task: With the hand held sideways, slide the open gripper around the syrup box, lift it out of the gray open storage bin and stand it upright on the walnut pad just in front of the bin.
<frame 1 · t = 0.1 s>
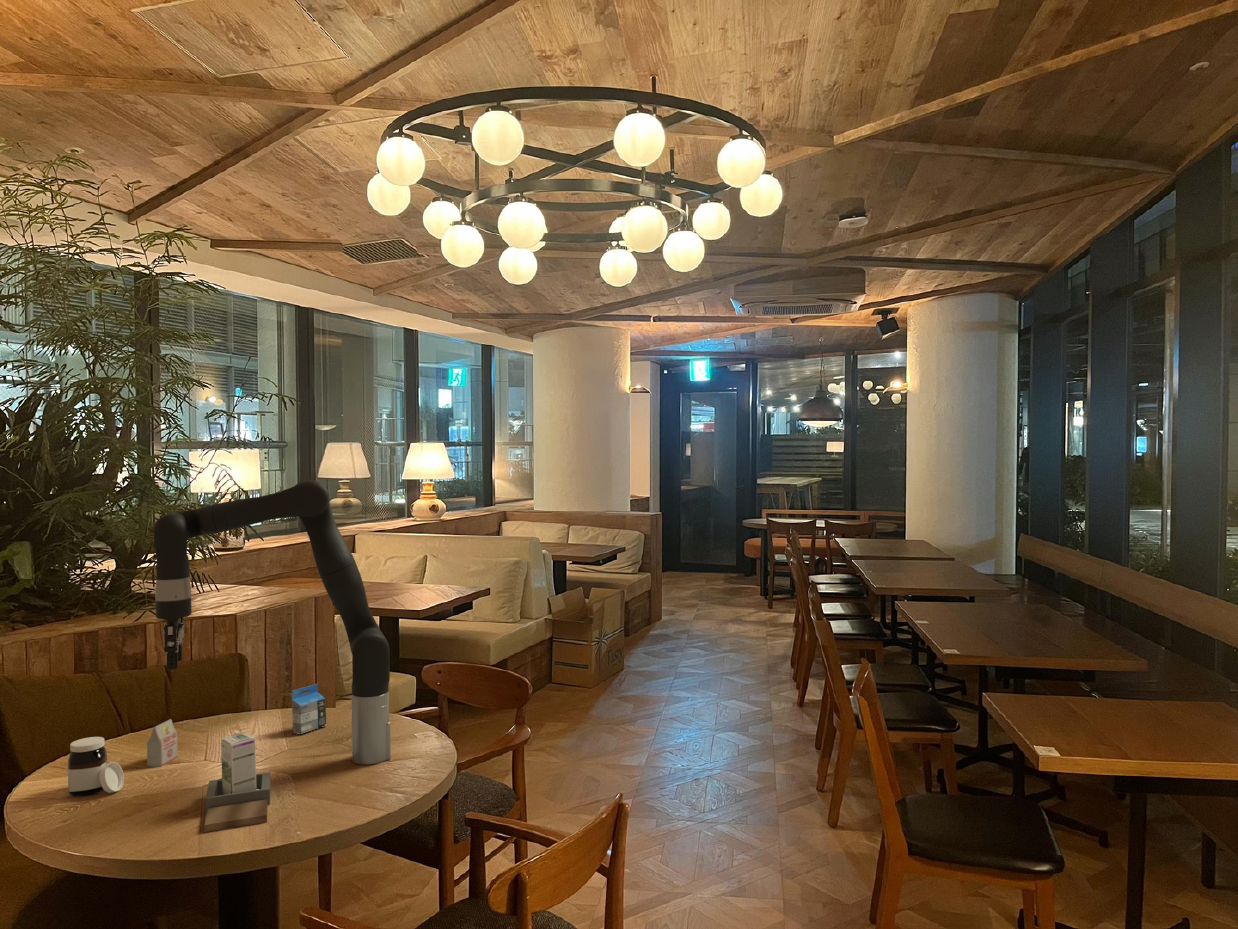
hand: (174, 665, 195), 29 cm above the table, tool pointing down, fingers open, 8 cm apart
walnut pad: (237, 818, 177), on the table
label tape box: (309, 731, 235), on the table
syrup box: (239, 801, 187), resting in gray open storage bin
white gable top carton: (162, 762, 211), on the table
gray open storage bin: (239, 800, 187), on the table
spread jar: (96, 791, 193), on the table
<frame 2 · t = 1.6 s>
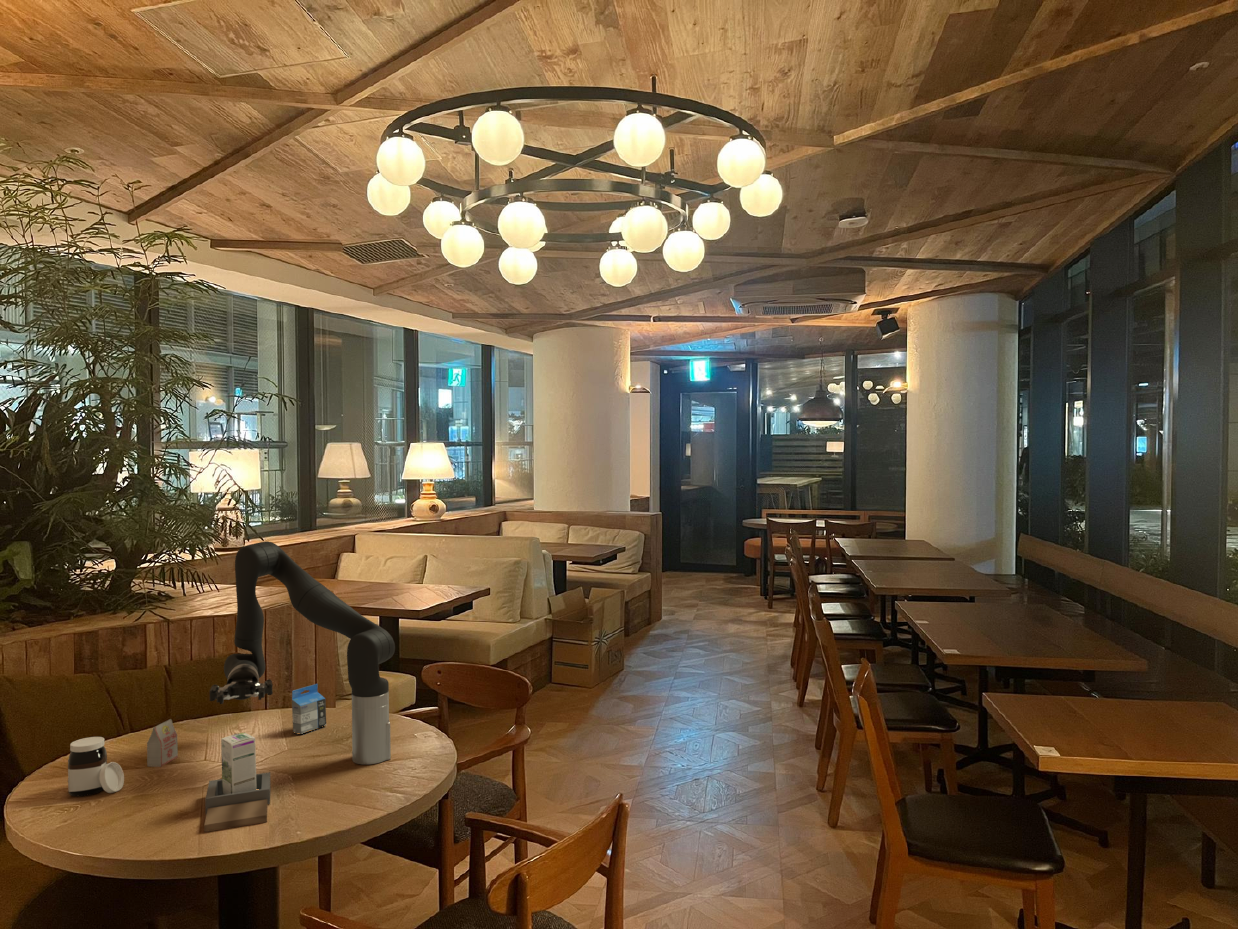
hand: (240, 697, 199), 20 cm above the table, tool horizontal, fingers open, 8 cm apart
nothing on the table moved.
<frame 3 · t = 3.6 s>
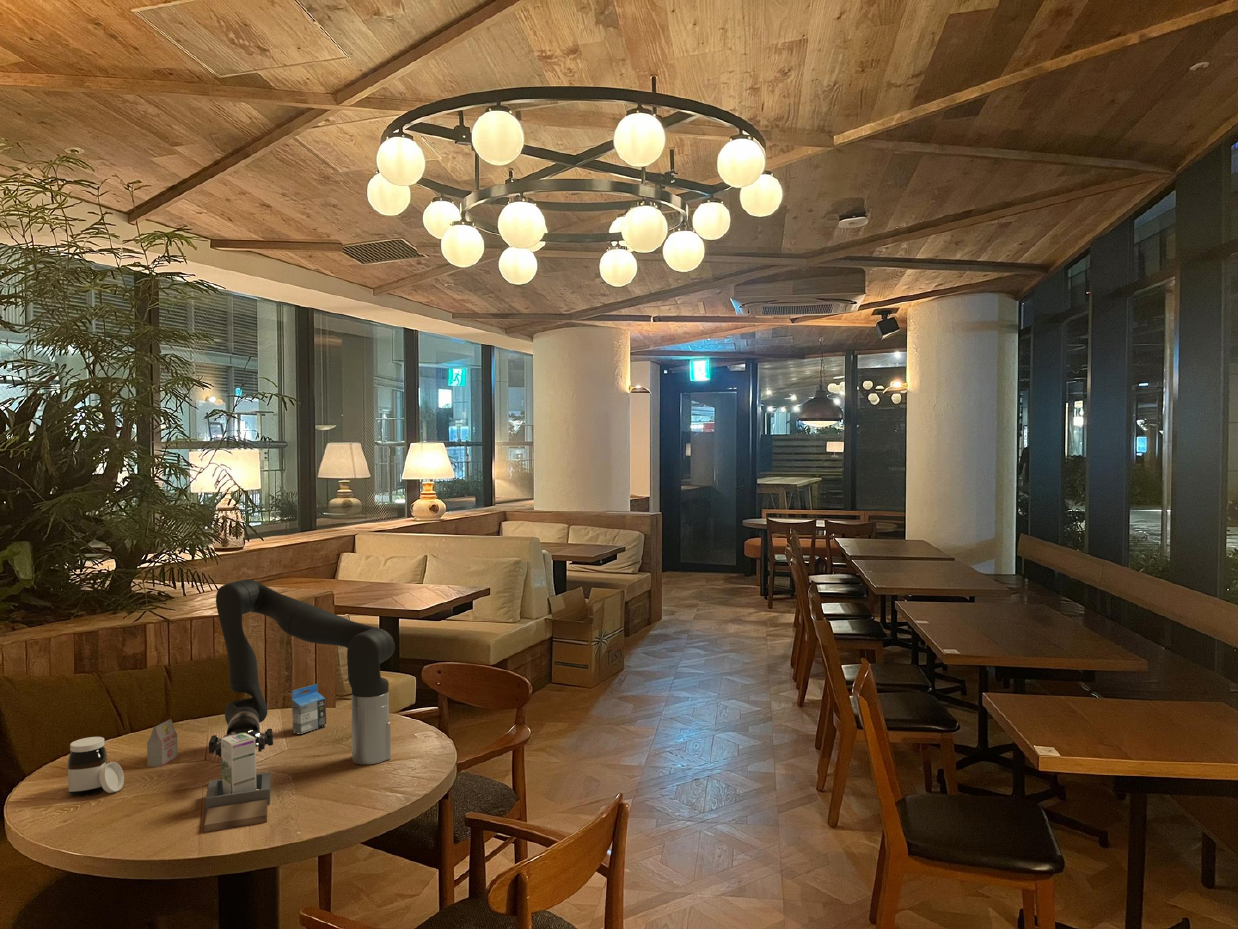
hand: (240, 750, 193), 9 cm above the table, tool horizontal, fingers open, 8 cm apart
nothing on the table moved.
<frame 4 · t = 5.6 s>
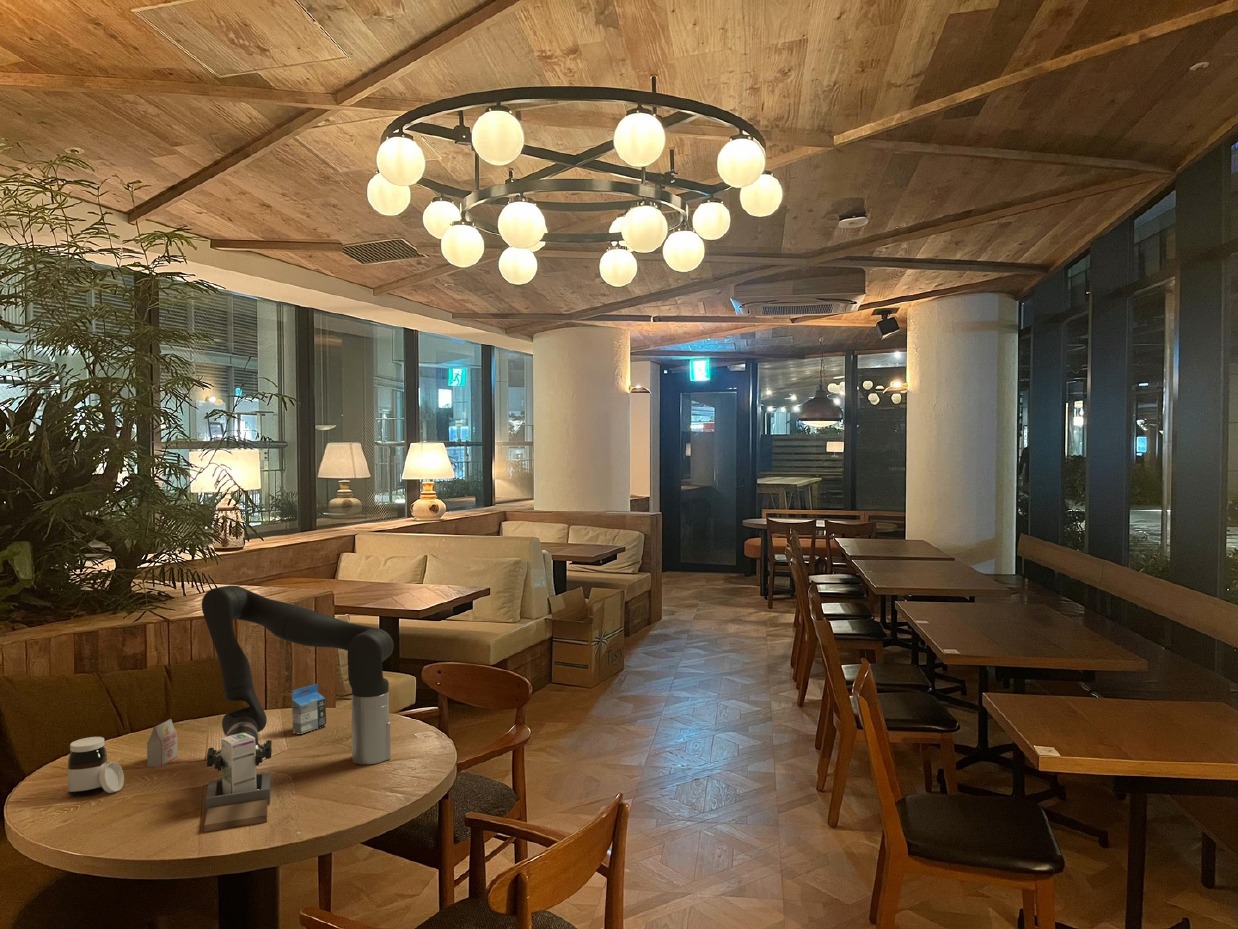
hand: (238, 764, 185), 9 cm above the table, tool horizontal, fingers closed on syrup box, 7 cm apart
syrup box: (239, 801, 187), resting in gray open storage bin, touching gripper
everything else where it was.
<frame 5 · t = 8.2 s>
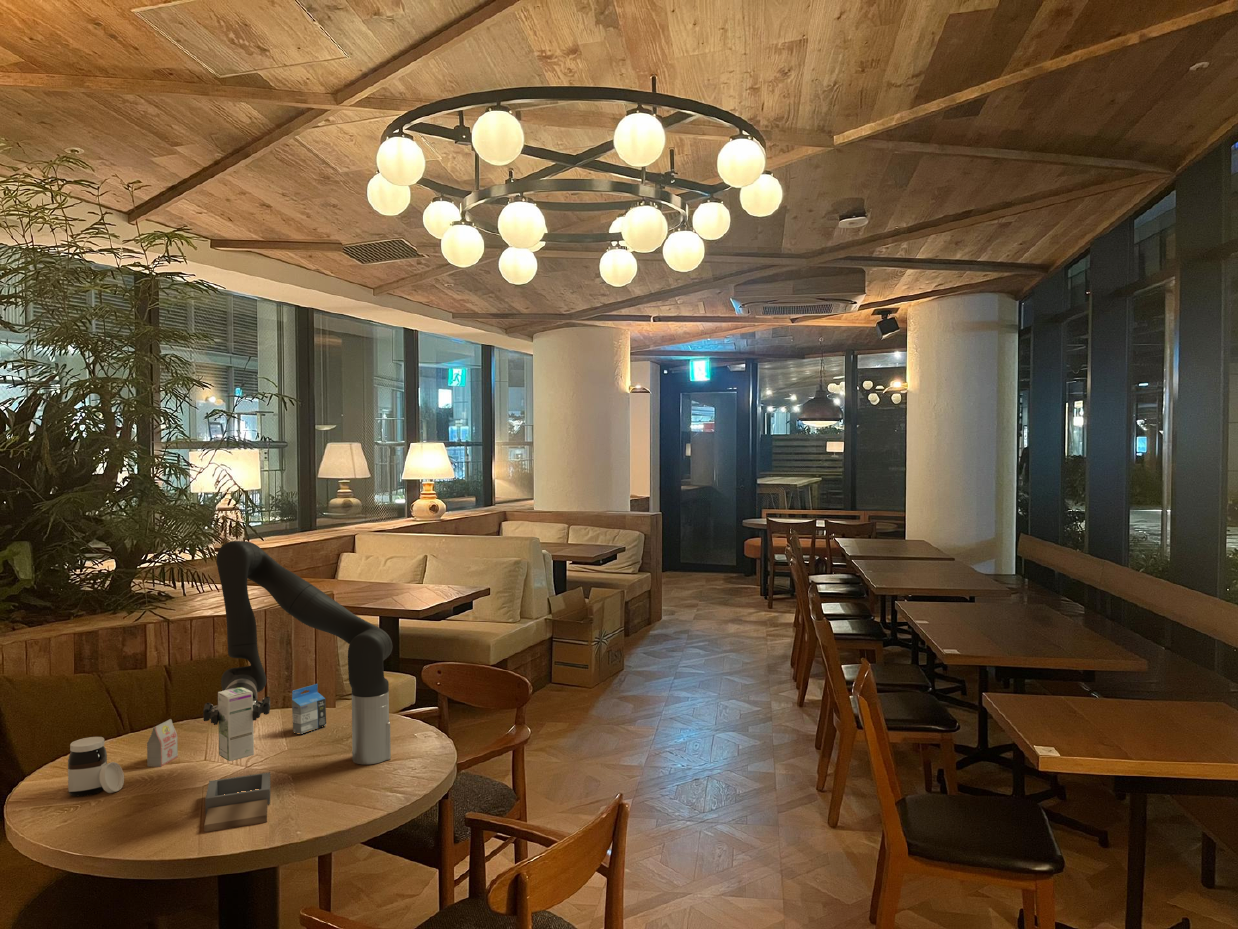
hand: (235, 718, 180), 21 cm above the table, tool horizontal, fingers closed on syrup box, 7 cm apart
syrup box: (236, 756, 182), point 12 cm above the table, touching gripper
everything else where it was.
when the fingers open (12 cm above the table, at t = 11.0 s): syrup box drops 1 cm, resting on walnut pad.
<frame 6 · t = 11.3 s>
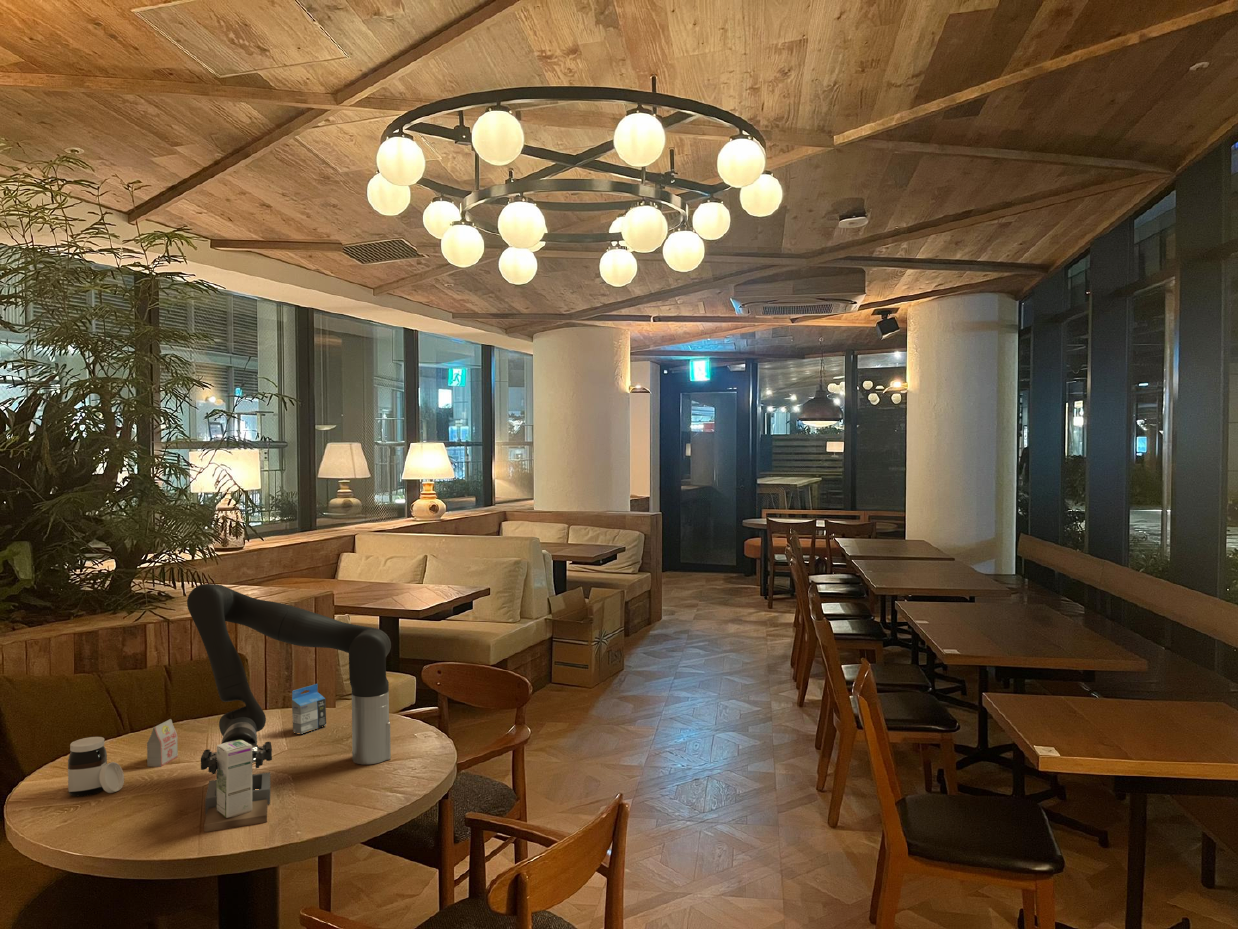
hand: (235, 766, 175), 12 cm above the table, tool horizontal, fingers open, 8 cm apart
syrup box: (233, 812, 177), point 1 cm above the table, touching gripper, walnut pad
everything else where it was.
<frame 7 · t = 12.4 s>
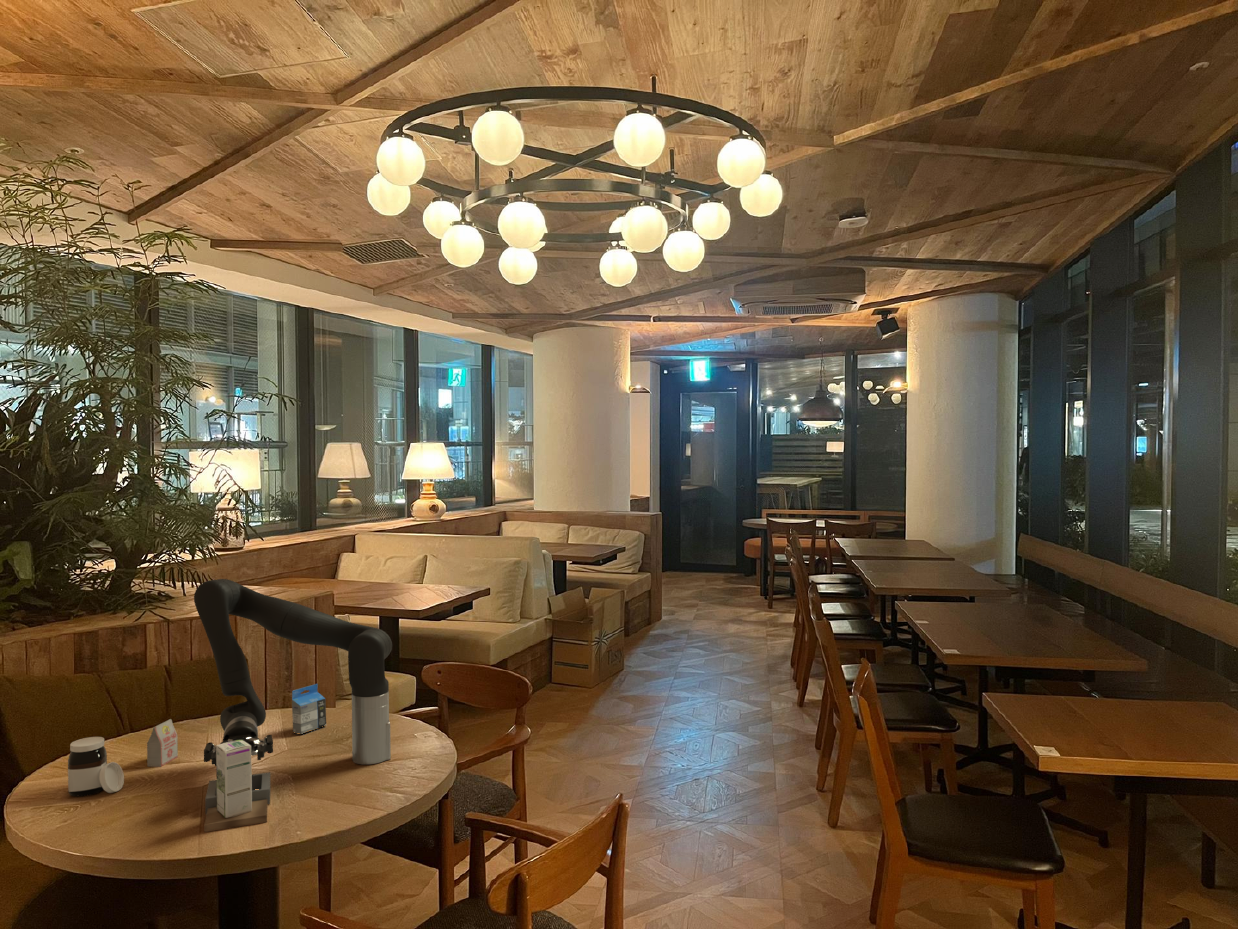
hand: (238, 758, 180), 12 cm above the table, tool horizontal, fingers open, 8 cm apart
syrup box: (233, 812, 177), point 1 cm above the table, touching walnut pad
everything else where it was.
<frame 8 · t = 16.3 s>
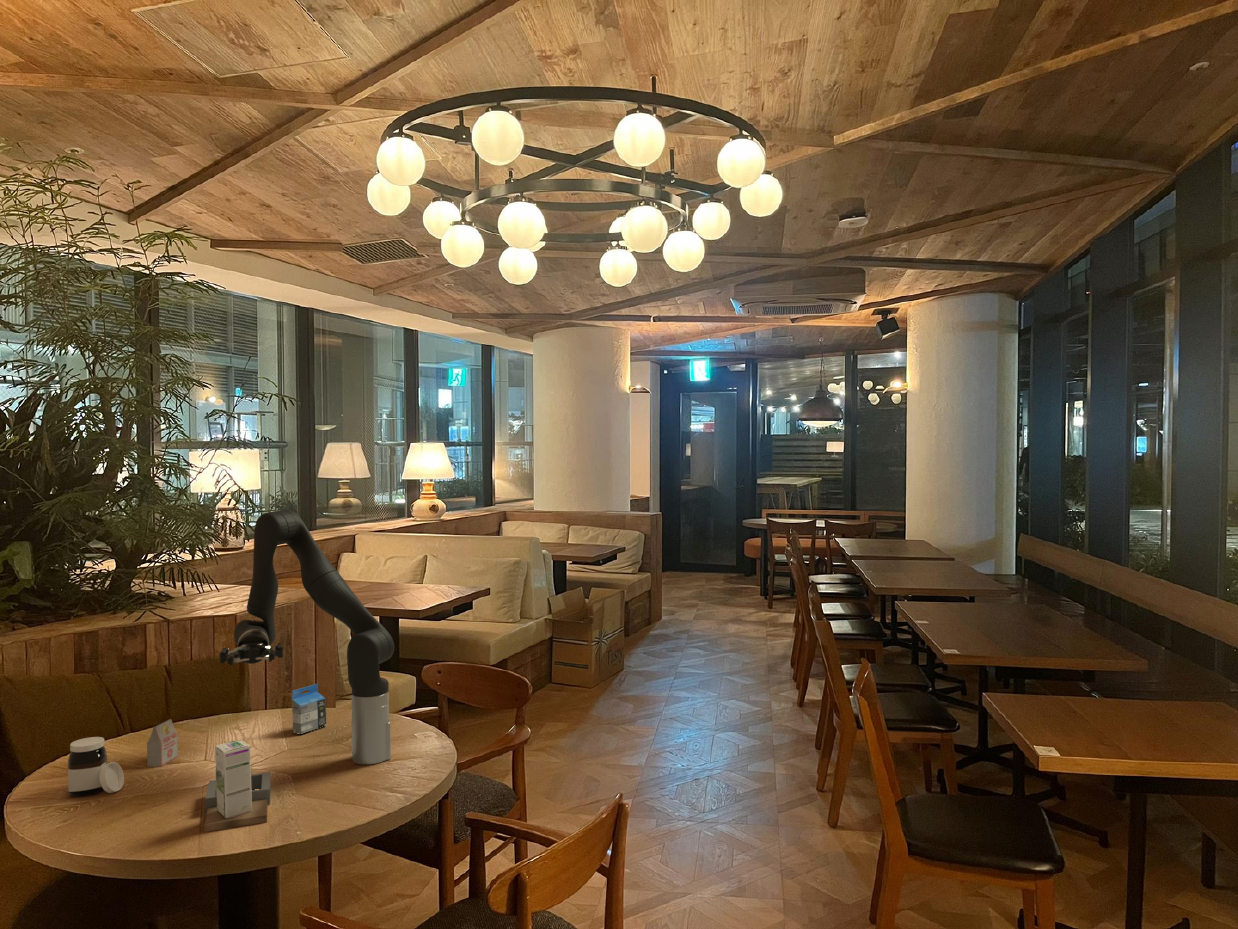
hand: (251, 659, 196), 30 cm above the table, tool horizontal, fingers open, 8 cm apart
nothing on the table moved.
at the end: syrup box inside the target area (0.7 cm from its centre), point 1.3 cm above the table; syrup box tilted 0°; the gripper is holding nothing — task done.
